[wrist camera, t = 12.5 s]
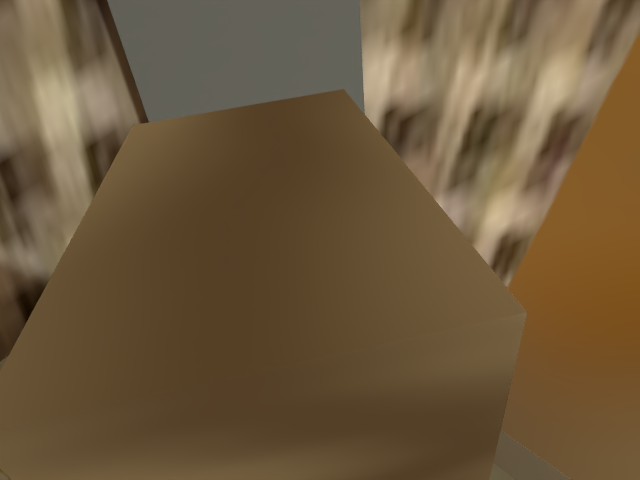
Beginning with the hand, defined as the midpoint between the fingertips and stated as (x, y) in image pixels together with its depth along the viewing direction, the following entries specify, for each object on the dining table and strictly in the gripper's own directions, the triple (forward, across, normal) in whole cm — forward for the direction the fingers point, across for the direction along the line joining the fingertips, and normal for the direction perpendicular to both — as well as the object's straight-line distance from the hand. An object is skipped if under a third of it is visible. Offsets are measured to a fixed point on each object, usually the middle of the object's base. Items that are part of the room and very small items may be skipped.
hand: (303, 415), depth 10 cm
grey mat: (+23, 0, 0) cm, 23 cm away
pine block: (0, 0, +8) cm, 8 cm away
